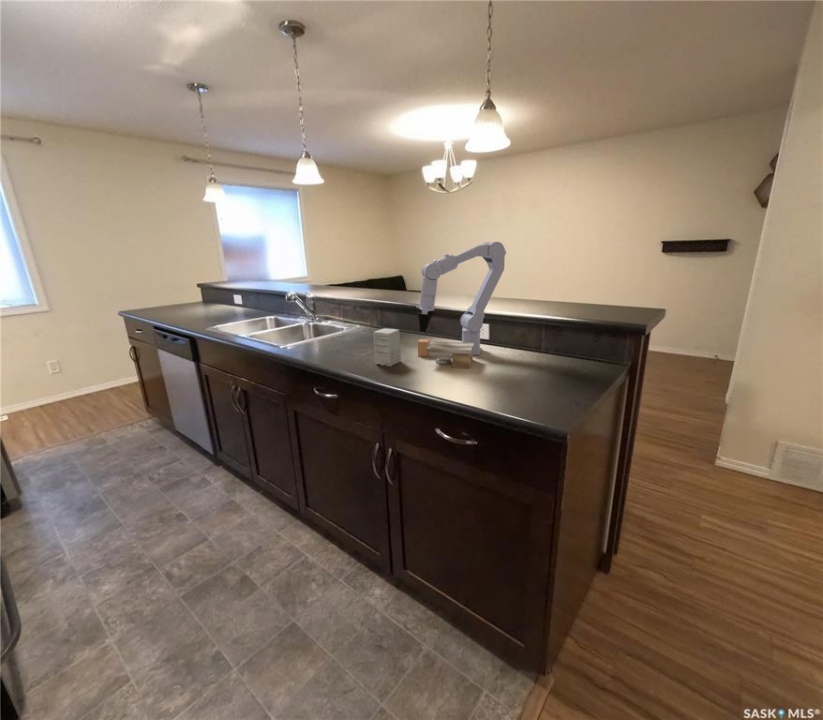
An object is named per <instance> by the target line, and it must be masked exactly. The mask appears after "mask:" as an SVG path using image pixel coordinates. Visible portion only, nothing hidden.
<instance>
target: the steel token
mask: <svg viewBox="0 0 823 720" xmlns="http://www.w3.org/2000/svg"><path fill="white" fill-rule="evenodd" d="M435 363H436V364H438V365H448V364H451V363H452V357H443V356H436V357H435Z"/></svg>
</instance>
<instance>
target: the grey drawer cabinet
mask: <svg viewBox="0 0 823 720" xmlns="http://www.w3.org/2000/svg"><path fill="white" fill-rule="evenodd" d="M372 334H373V335H372V336H373V337H372V338H373V351H374V353H373V354H374V363H375V365H378V364H380V365H379V366H384V365H386V367H392V366H394V365H396V364H398V363H401V362H402V360H401V359H402V357H401V337H400V329H397V328H396V329H395V328H387V327H385V328H380V329H378V330H375V331H373V332H372Z"/></svg>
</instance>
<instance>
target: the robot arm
mask: <svg viewBox="0 0 823 720" xmlns="http://www.w3.org/2000/svg"><path fill="white" fill-rule="evenodd" d="M506 255H507V252H506V249H505V246H504V244H503V243H502V242H500V241H494V242H491V241H487V242H484V243H481V244H476V245H475V246H473V247H470V248H469V249H466V250H464V251H462V252H460V253H457V254H456V255H453V254H451V253H450V254H449V253H446V254H444V257H441V258H439V259H437V260H436V259H434V260H432V263H431V262H428V263H425V265H424V266H423V267H422V269H421V274H422V283H421V290H420V298H419V305H418V304H417V305H415V307H416V309H419V312H417V313H416V315H417V318H418V321H419V323H418V324H419V332H420V333H426V332H427V330H428V328H429V325H430V321H431V319H432V317H433V315H434V313H435V312H434V311H435V303H436V296H437V287H438V279H440V276H442V275H445V274H447V273H449V272H452V271H454V270H456V269H457V268H458V266H459V264H461V263H464V262H466V261H469V260H473V259H474V258H476V257H482V258H483V260H484V261H485V262H486V264H487V266H488V271H487V273H486V275H485V277H484V279H483V281H482V283H481V286H480V287H479V289H478V291H477V294H476V296H475V297H474V300H473V302H472V304H471V305H470V306H469V307H468V308H466V311H465V312H464V313H463V314H462V315H461V316H460V319H459V321H460V322H459V323H460V325H461V326H462V329H461V343H474V348H473V356H474V355H475V356H476V355H477V356H479V355H481V352H482V349H483V348H482V347H481V329H482V328H483V326H484V324H483V323H484V322H483V321H484V319H485V316H486V315H485V310H486V307H487V305H488V303H489V301H490V300H491V297H492V295H493V293H494V291H495V289H496V287H497V285H498V283H499V281H500V279H501V277H502V274H503V272H504V270H505V259H506V258H505V257H506Z"/></svg>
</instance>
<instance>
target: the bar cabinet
mask: <svg viewBox="0 0 823 720" xmlns="http://www.w3.org/2000/svg"><path fill="white" fill-rule="evenodd" d="M473 348H474V343H462V342H459V341H457V342H456V341H455V342H453V341H452V342H451V341H432V342H430V345H429V346H428V348H427V349H426V352H439V353H452V357H451V363H452V366H451V367H452V368H454V369H470V367H471V365H472V363H473V360H474V358H473V357H474V355H473Z"/></svg>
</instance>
